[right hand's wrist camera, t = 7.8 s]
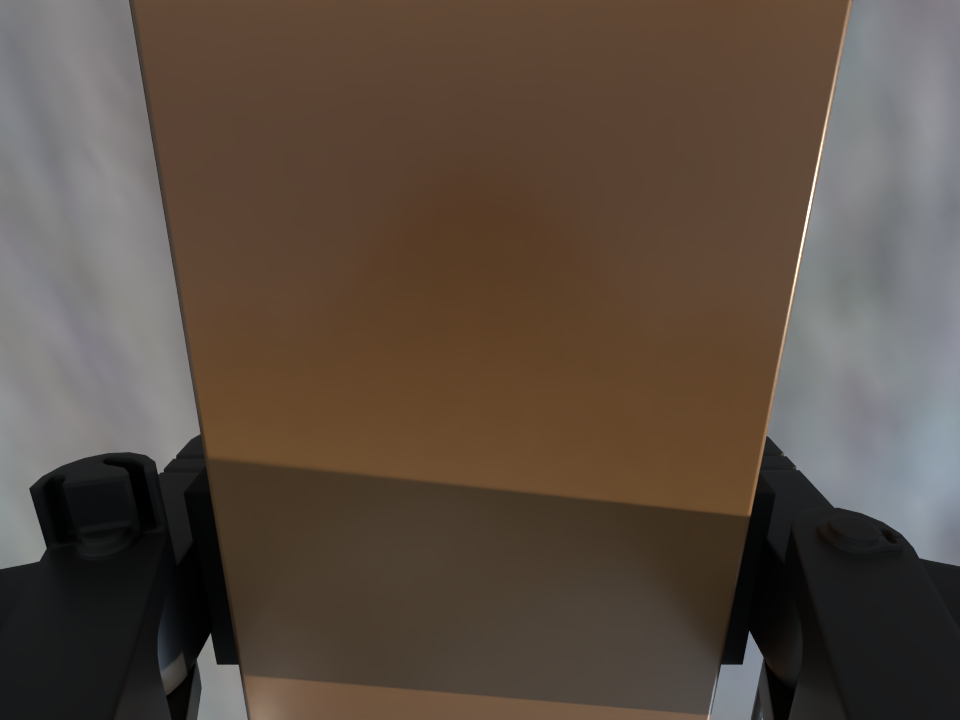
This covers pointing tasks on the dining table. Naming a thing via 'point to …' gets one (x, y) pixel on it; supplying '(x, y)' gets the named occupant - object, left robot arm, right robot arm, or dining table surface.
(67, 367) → the dining table surface
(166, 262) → the dining table surface
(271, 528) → the post
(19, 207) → the dining table surface
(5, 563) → the dining table surface
